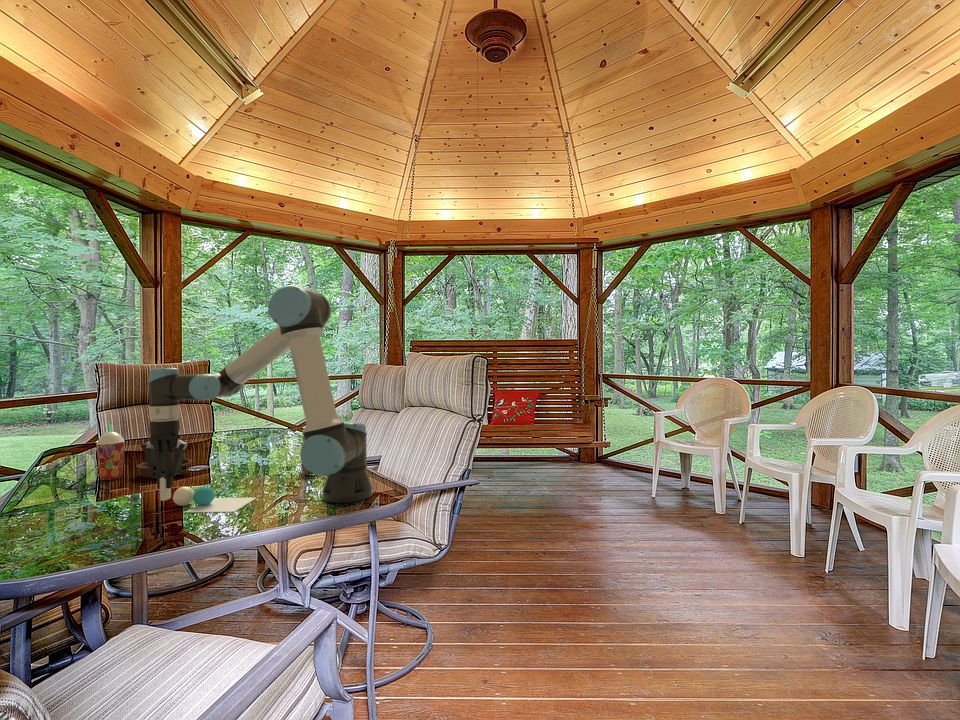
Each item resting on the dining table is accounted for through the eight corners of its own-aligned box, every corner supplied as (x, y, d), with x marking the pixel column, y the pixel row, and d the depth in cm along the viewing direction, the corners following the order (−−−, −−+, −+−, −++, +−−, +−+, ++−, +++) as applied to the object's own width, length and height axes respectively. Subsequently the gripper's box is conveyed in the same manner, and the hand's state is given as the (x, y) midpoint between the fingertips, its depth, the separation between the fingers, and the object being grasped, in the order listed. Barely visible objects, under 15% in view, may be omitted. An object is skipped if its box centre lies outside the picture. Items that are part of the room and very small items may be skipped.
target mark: (257, 498, 153) (257, 497, 153) (234, 512, 139) (234, 511, 139) (212, 498, 153) (212, 497, 153) (184, 512, 139) (184, 511, 139)
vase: (297, 476, 182) (297, 452, 181) (308, 472, 188) (307, 449, 188) (313, 477, 180) (313, 453, 180) (324, 473, 187) (324, 449, 187)
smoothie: (124, 475, 186) (123, 422, 186) (126, 479, 180) (125, 424, 180) (96, 478, 181) (95, 424, 181) (97, 483, 174) (96, 426, 174)
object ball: (216, 504, 149) (219, 486, 149) (206, 509, 143) (209, 490, 143) (198, 500, 149) (201, 482, 149) (187, 506, 143) (191, 487, 143)
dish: (162, 483, 174) (162, 469, 174) (121, 478, 182) (121, 465, 182) (206, 472, 190) (206, 459, 190) (167, 468, 199) (167, 456, 199)
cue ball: (176, 492, 149) (187, 506, 149) (165, 497, 143) (176, 511, 143) (191, 480, 149) (202, 495, 149) (180, 485, 143) (191, 500, 143)
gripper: (133, 421, 142) (134, 503, 142) (178, 421, 142) (179, 502, 142) (151, 418, 150) (152, 495, 150) (193, 418, 150) (194, 495, 150)
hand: (165, 499), depth 146 cm, fingers closed
